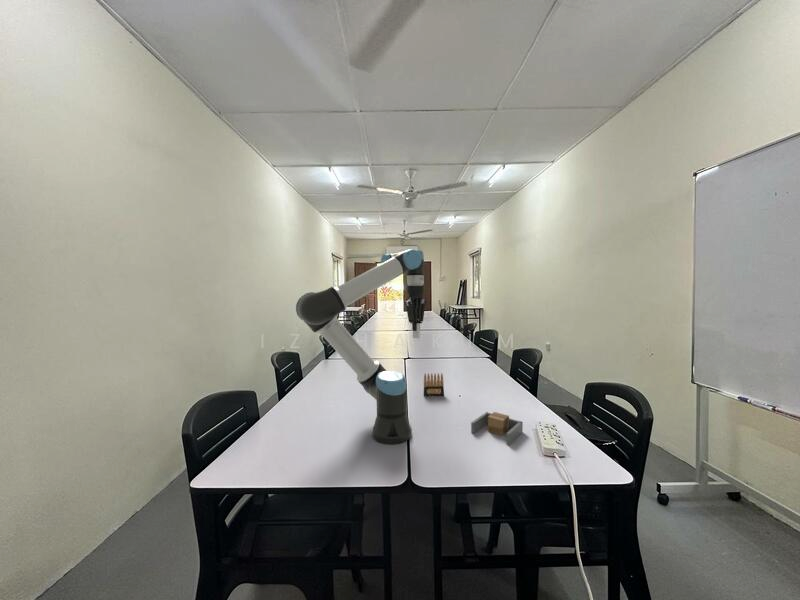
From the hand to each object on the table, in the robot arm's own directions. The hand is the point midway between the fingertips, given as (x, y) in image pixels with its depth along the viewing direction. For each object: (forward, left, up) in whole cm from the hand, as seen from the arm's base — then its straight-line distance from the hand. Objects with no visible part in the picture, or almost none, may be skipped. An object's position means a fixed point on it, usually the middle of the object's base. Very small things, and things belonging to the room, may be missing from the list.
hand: (416, 337), depth 136 cm
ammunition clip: (+24, +8, -35) cm, 43 cm away
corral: (+5, -35, -34) cm, 49 cm away
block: (+7, -35, -35) cm, 50 cm away
